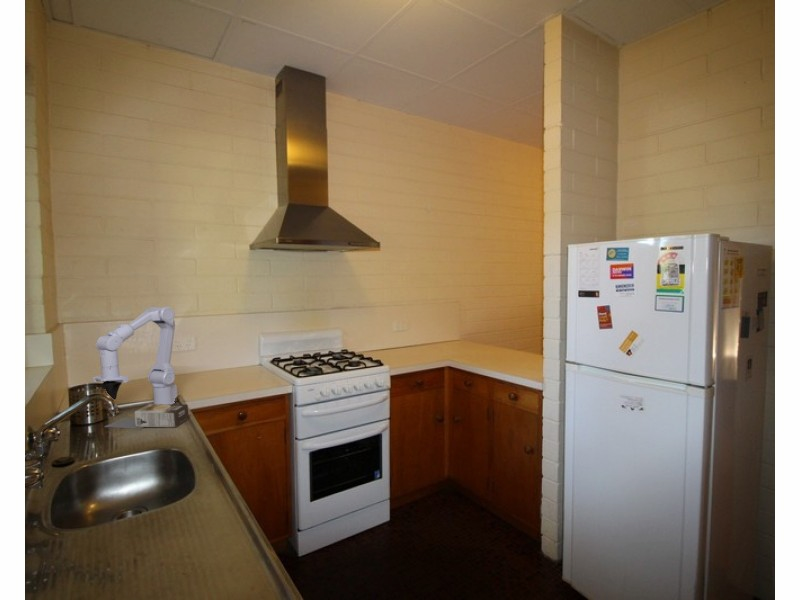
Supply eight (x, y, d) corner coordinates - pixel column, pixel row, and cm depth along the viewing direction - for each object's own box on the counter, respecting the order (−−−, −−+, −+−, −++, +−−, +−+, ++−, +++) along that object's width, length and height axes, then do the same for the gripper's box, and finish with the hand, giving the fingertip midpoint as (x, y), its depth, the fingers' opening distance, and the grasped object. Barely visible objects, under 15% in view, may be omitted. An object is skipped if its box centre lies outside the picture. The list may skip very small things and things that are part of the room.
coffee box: (149, 403, 166) (188, 403, 166) (150, 418, 167) (189, 419, 167) (134, 411, 157) (175, 412, 157) (135, 427, 158) (176, 428, 157)
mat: (123, 418, 169) (123, 417, 169) (158, 420, 166) (158, 419, 166) (104, 427, 160) (104, 426, 160) (140, 429, 157) (140, 428, 157)
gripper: (84, 368, 159) (87, 402, 161) (117, 368, 157) (120, 403, 158) (100, 363, 166) (103, 396, 168) (132, 364, 164) (134, 397, 165)
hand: (112, 399), depth 163 cm, fingers closed
